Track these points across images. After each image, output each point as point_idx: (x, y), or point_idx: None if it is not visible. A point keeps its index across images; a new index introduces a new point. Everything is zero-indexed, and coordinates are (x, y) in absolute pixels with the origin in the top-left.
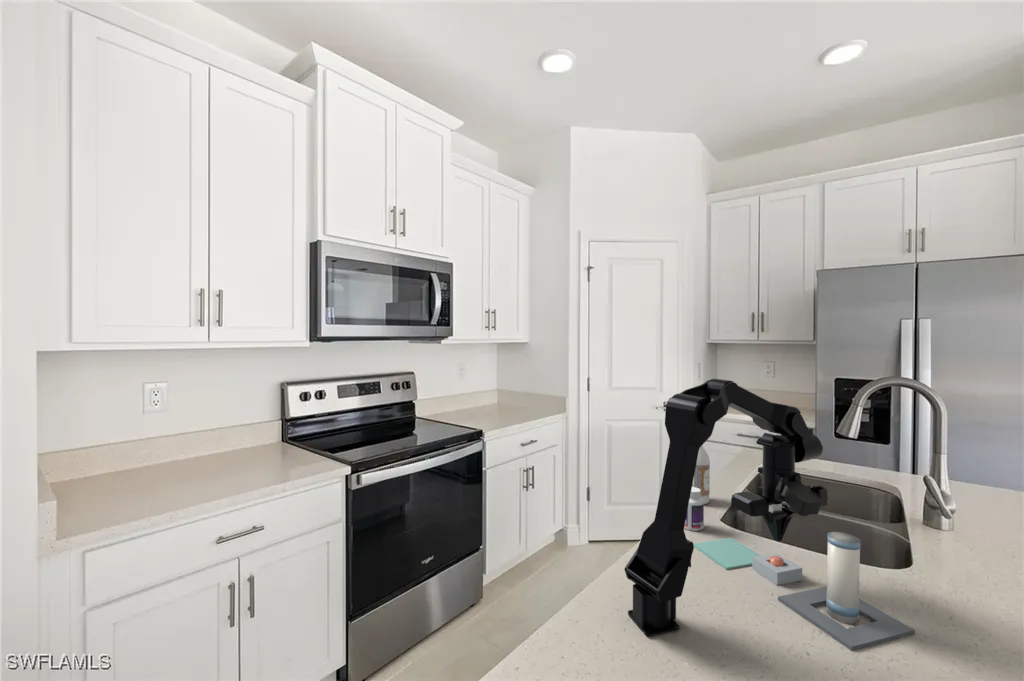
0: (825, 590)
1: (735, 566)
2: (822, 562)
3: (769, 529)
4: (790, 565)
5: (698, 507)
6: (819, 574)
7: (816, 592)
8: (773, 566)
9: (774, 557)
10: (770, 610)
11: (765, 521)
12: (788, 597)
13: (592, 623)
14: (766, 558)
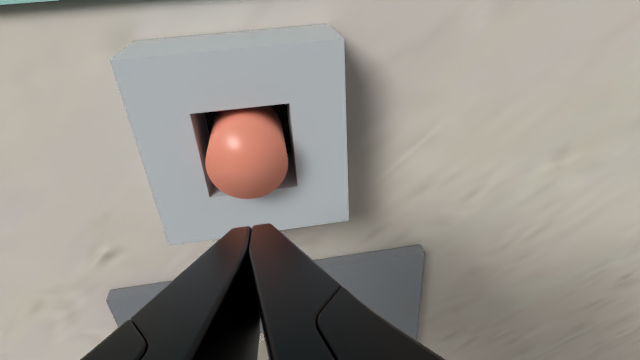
0: (347, 281)
1: (6, 3)
2: (595, 58)
3: (185, 273)
4: (305, 193)
5: None
6: (461, 154)
7: None
8: (193, 188)
9: (243, 147)
10: (37, 336)
11: (117, 330)
12: None
13: None
14: (214, 94)
